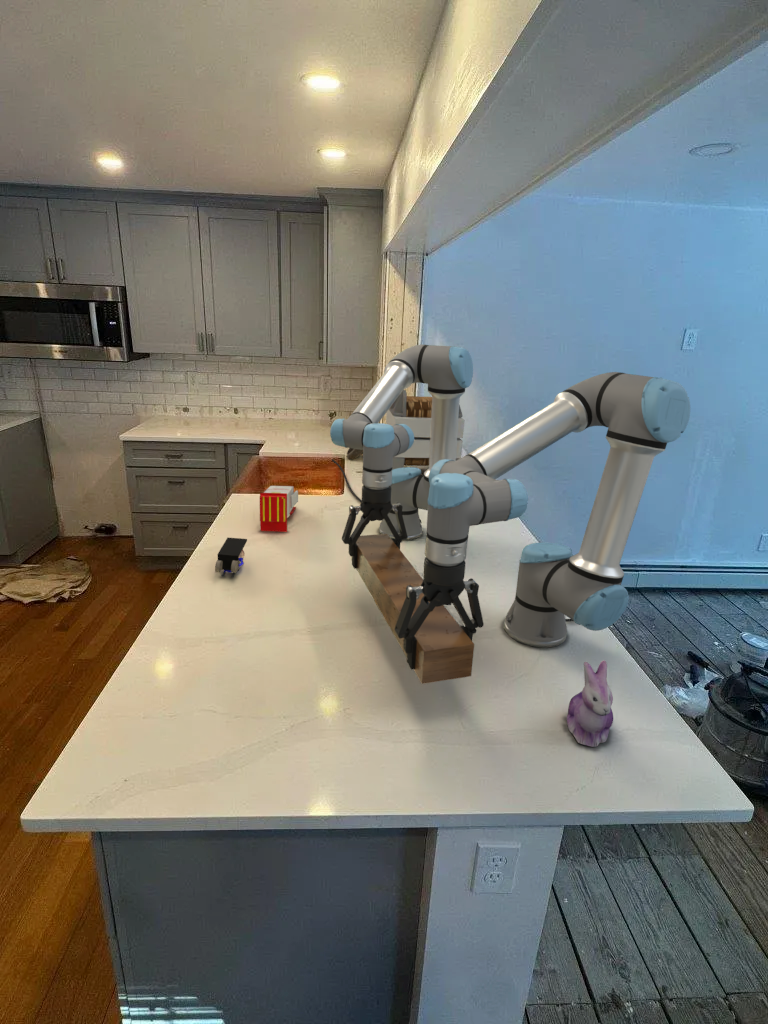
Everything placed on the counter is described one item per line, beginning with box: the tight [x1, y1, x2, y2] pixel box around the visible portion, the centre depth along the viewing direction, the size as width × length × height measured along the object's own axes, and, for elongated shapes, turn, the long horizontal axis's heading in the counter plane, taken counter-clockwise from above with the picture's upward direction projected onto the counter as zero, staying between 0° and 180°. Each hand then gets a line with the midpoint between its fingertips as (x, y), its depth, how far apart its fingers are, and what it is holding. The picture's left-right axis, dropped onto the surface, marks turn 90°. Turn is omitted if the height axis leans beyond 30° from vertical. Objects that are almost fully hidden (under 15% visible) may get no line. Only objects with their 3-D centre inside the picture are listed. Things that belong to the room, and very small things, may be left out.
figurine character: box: [214, 537, 248, 578], centre depth 166 cm, size 7×8×15 cm
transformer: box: [385, 389, 465, 470], centre depth 268 cm, size 34×33×41 cm
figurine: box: [566, 660, 614, 748], centre depth 106 cm, size 9×10×15 cm
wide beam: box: [350, 533, 475, 685], centre depth 130 cm, size 56×10×7 cm, turn 17°
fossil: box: [346, 448, 363, 461], centre depth 300 cm, size 22×10×15 cm
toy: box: [259, 485, 299, 533], centre depth 208 cm, size 12×13×30 cm
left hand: (373, 564), depth 152 cm, fingers closed on wide beam, 10 cm apart
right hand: (436, 661), depth 111 cm, fingers closed on wide beam, 10 cm apart
